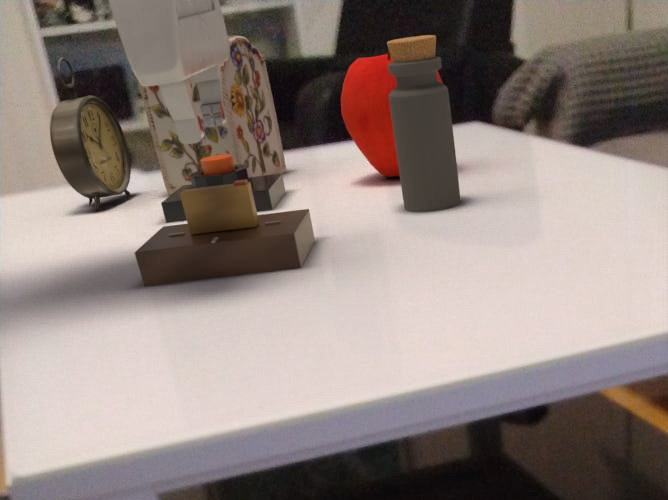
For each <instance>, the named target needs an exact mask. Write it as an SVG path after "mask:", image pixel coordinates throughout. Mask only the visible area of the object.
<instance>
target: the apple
mask: <svg viewBox="0 0 668 500" xmlns="http://www.w3.org/2000/svg"><path fill="white" fill-rule="evenodd" d="M391 62H393V61H392V58H391V55H390V52H389V48H388V47H387V53H386V54H382V55H381V54H380V55H375V56H369V57H358V58H356V59H355V61H353V62H352V63H351V64H350V65H349V67H348V68H347V72H346V74H345V77H344V80H343V84H342V89H341V90H342V91H341V94H340V95H341V96H340V108H341V109H340V110H341V117H342V120H343V123H344V125H345V128H346V131H347V132H348V134H349V135H350V138H351V139H352V140H353V142H354V144H355V145H356V148H358V150H359V151H360V153H361V154H362V155H363V156H364V158H365V159H366V160H367V161H368V163H369V164H370V166H372V167H373V168H374V170H376V171H377V172H378V173H379V174H380V175H382V176H384V177H385V178H390V177H400V174H399V167H398V160H397V153H396V146H395V139H394V132H393V124H392V117H391V110H390V102H389V94H390V93H391V91H392V90H393V89H394V88H396V86H397V83H396V77H395V76H392V75H390V74H389V69H388V64H389V63H391ZM437 80H438V82H441V83H442V84H444V83H443V80H442V78H441V76H440V73H439V70H437Z"/></svg>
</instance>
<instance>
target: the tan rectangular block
mask: <svg viewBox="0 0 668 500" xmlns="http://www.w3.org/2000/svg"><path fill="white" fill-rule="evenodd" d="M180 196H181V200H182V204H183V207H184V211H185V215H186V219H187V220H186V222H187V223H186V224H188V227H189V231H190V234H191V235H193V234H201V233H210V232H218V231H226V230H234V229H243V228H251V227H256V226H257V225H258V224H259V220H258V215H259V214H258V212H257V211H256V206H255V202H254V197H253V193H252V188H251V183H250V182H248V181H247V179H244V180H236V181H235V182H234V183H233V184H227V185H218V186H210V187H202V188H194V189H186V190H183V191H182V192H181V193H180Z"/></svg>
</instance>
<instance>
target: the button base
mask: <svg viewBox="0 0 668 500" xmlns="http://www.w3.org/2000/svg"><path fill="white" fill-rule="evenodd" d="M235 168H236V169H235V170H232V171H229V172H224V173H218V174H208V175H204V174H203V170H200V171H197V172H194V173H192V174H191V175H190V179H191V183H192V184H191V185H183V186H181V187H180V188H179V189H178V190H176V191H175V192H174V193H173V194H171V195H168V196H167V197H166V198H165V199H164V200H162V201H161V203H160V205H161V208H162V212H163V216H164V219H165V224H166V223H167V224H169V223H177V222H187V219H186V215H185V211H184V207H183V204H182V200H181V196H180V193H181V192H182V191H183V190H186V189H194V188H202V187H210V186H218V185H227V184H233V183H234V182H235V181H236V180H244V179H247V181H248V182H250V183H251V188H252V193H253V197H254V202H255V206H256V211H257V213H260V212H268V211H273V210H274V209H275V208H276V206H277V205H278V204H279V202H281V199H282V198H283V197H284V196H285V195H286V191H287V190H286V187H285V181H284V176H283V174H273V175H265V176H256V177H251V172H250V168H249V166H248V165H244V164H235Z"/></svg>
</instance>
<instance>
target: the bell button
mask: <svg viewBox="0 0 668 500" xmlns="http://www.w3.org/2000/svg"><path fill="white" fill-rule="evenodd" d="M200 161H201V165H202V169H203V174H204V175H208V174H218V173H224V172H229V171H232V170H235V169H236V168H235V164H234V160H233V155H231V154H222V155H214V156H209V157H205V158H202V159H201V160H200Z"/></svg>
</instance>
